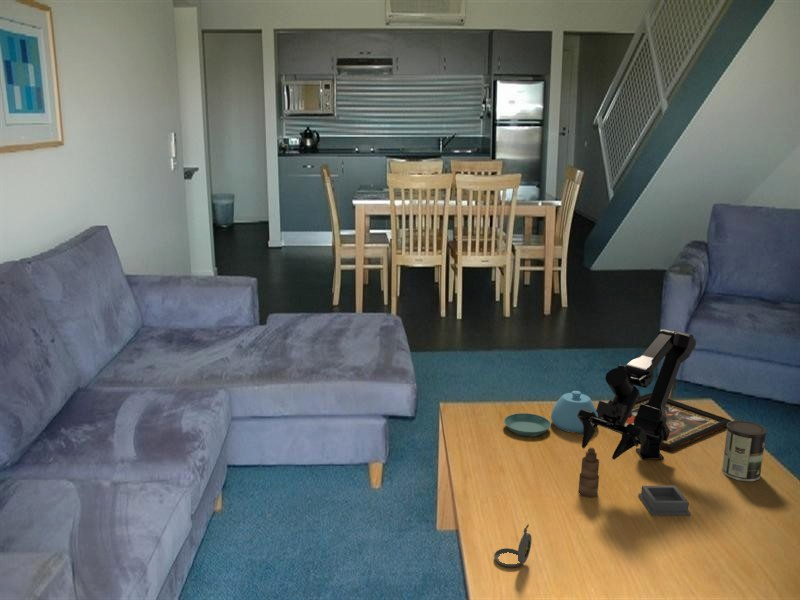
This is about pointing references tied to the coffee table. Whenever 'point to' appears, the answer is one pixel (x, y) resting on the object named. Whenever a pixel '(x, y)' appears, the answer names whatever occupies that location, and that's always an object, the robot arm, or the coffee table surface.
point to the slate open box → (664, 500)
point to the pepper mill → (589, 474)
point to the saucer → (527, 424)
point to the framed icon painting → (682, 422)
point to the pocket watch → (522, 550)
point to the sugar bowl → (571, 411)
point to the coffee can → (744, 450)
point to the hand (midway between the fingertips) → (597, 453)
